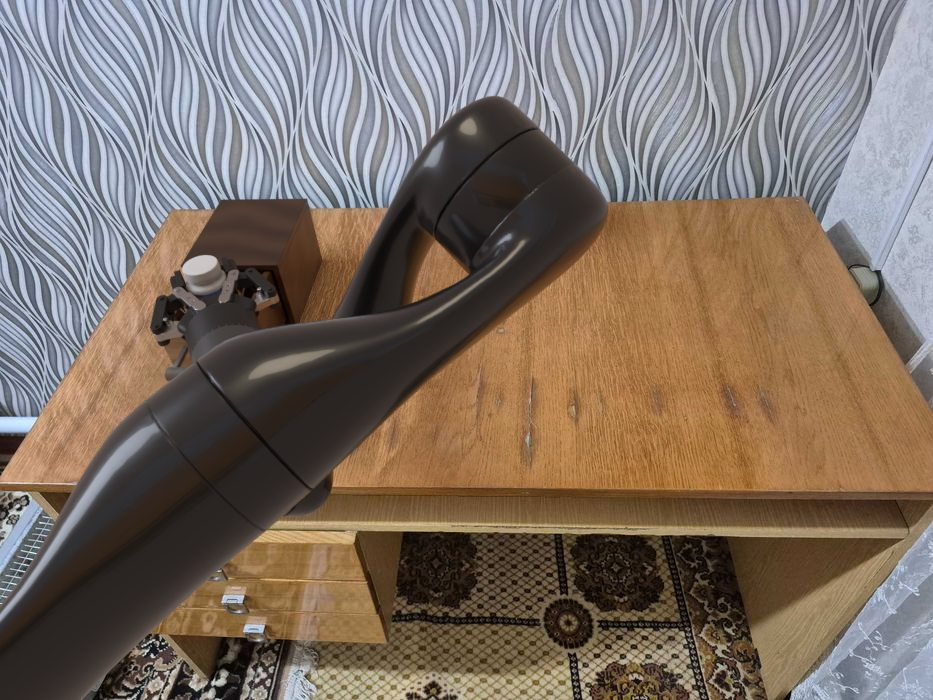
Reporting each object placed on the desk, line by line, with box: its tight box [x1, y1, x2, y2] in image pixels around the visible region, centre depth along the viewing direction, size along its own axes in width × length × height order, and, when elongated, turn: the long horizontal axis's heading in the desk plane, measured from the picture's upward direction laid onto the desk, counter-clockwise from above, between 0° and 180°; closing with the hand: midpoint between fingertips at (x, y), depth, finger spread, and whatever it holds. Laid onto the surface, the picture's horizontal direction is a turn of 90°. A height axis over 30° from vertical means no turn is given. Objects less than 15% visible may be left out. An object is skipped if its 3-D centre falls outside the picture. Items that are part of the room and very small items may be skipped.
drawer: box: [163, 270, 288, 382], centre depth 82 cm, size 20×11×9 cm, turn 176°
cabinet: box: [180, 198, 323, 325], centre depth 92 cm, size 16×13×11 cm
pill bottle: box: [181, 255, 227, 299], centre depth 78 cm, size 5×5×8 cm
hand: (202, 270), depth 79 cm, fingers closed on pill bottle, 4 cm apart
